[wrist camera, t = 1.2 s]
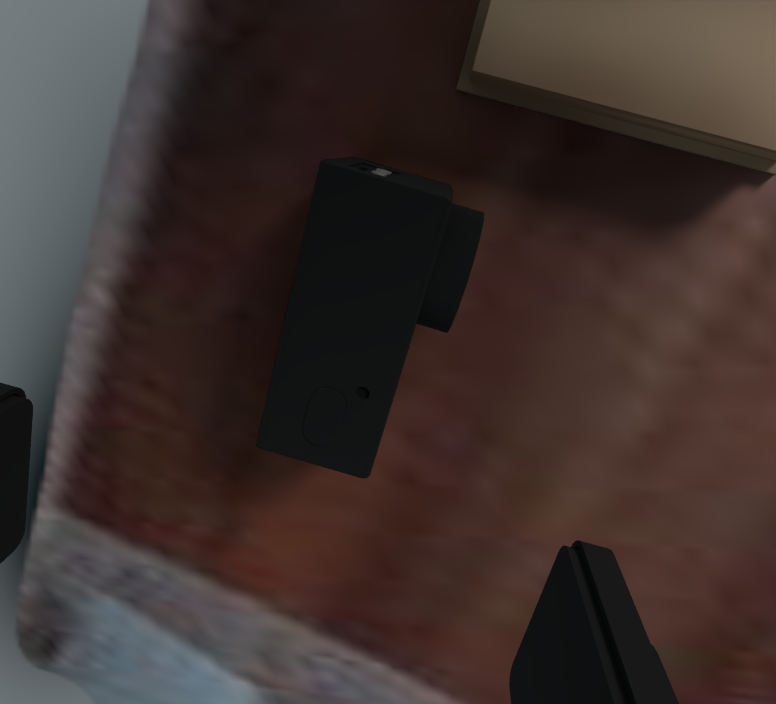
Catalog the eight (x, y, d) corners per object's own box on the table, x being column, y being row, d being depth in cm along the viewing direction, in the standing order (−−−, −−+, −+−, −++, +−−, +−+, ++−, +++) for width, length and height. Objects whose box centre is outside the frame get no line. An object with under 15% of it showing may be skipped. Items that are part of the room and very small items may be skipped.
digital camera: (410, 414, 29) (398, 494, 22) (299, 381, 29) (253, 451, 22) (480, 193, 25) (491, 210, 19) (354, 156, 25) (319, 160, 19)
